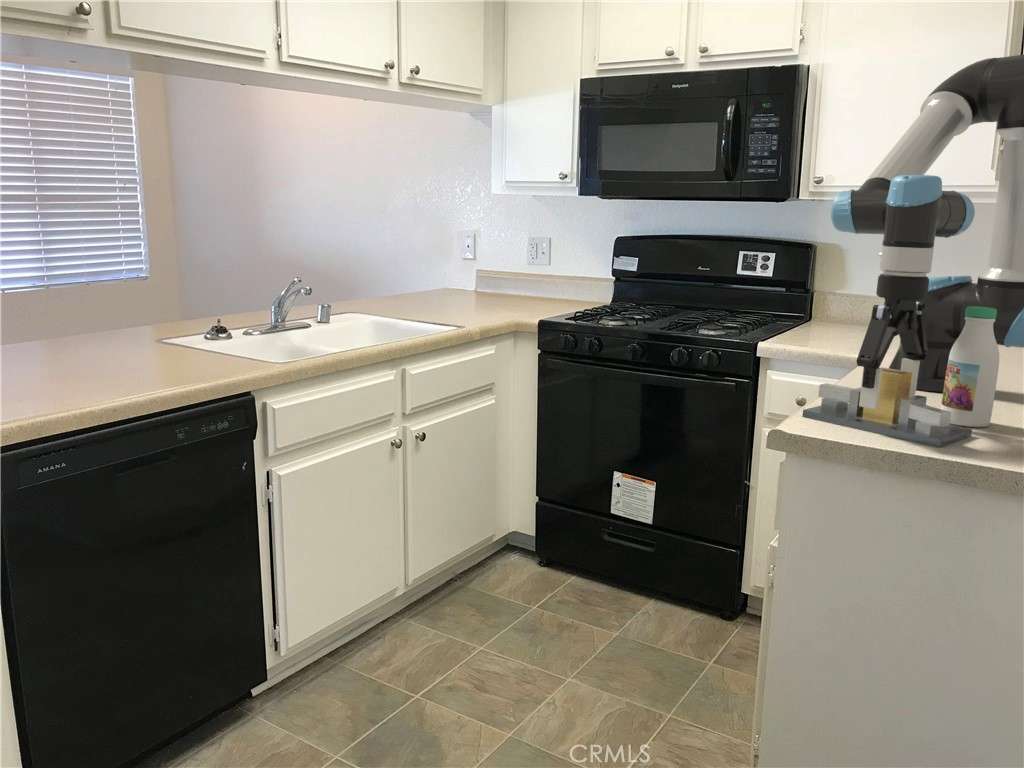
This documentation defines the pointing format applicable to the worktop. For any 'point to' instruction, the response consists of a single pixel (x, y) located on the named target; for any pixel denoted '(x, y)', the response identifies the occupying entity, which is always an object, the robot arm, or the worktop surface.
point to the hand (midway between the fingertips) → (887, 402)
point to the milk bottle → (972, 370)
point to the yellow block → (890, 395)
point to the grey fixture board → (912, 423)
